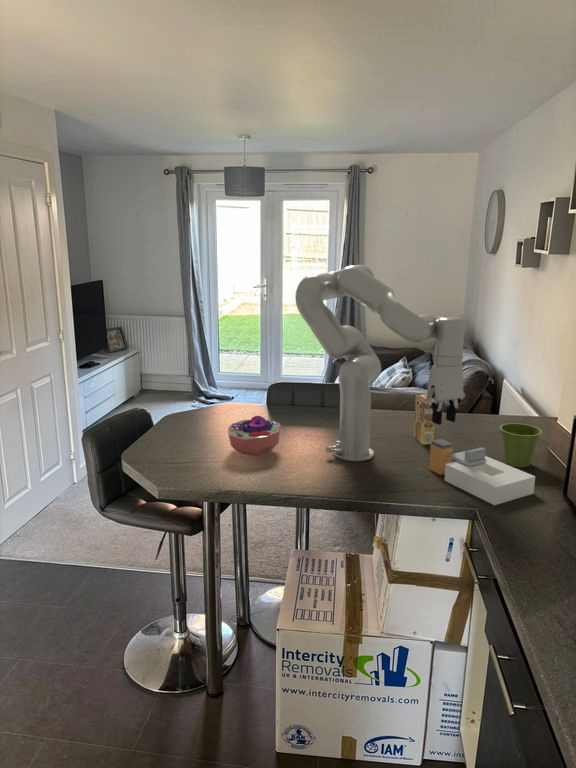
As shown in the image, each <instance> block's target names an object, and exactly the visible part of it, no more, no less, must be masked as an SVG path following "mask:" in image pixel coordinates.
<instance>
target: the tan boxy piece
mask: <svg viewBox="0 0 576 768" xmlns="http://www.w3.org/2000/svg"><path fill="white" fill-rule="evenodd" d="M453 445H454V443H453V442H450V441H447V440H445V439H443V438H438V439H435V440H433V441H431V444H430V449H429V450H430V451H429V464H428V465H429V466H428V470H430V471H432V472H433V473H436V474H438V475H439V476H443V475H445V466H446V464H448V463H452V462H453V459H452V458H449V455H450V454H454V452H453V451H454V447H453Z"/></svg>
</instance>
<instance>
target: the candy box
mask: <svg viewBox="0 0 576 768" xmlns="http://www.w3.org/2000/svg"><path fill="white" fill-rule="evenodd" d="M426 397H427V394H416V395H415V402H414V403H415V404H414V421H413V422H414V424H413V425H414V426H413V427H414V428H413V437H414V438H415V439H416V441H418V442H419V443H420V444H421V445H423V446H424V445H425V446H426V445H431V441H433V440H434V438H435V437H434V436H435V423H433V422H432V414H433V410H432V409H431V407H430V406H429V404H427V403H426V402H425V399H426ZM432 401H433V399H432Z"/></svg>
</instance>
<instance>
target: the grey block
mask: <svg viewBox="0 0 576 768" xmlns="http://www.w3.org/2000/svg"><path fill="white" fill-rule="evenodd" d="M486 452H487V451H486V448H485V447H478V448H474V449H473V448H472V449H470V450H464V451H460V452H455V453H454V452H453V454H450V455H449V458H452V460H454V461H455V462H457V461H458V462H461V463H463V464H465V465H467V466H472V465H476V464H480V463H484V462H487V459H485V456H486Z"/></svg>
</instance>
